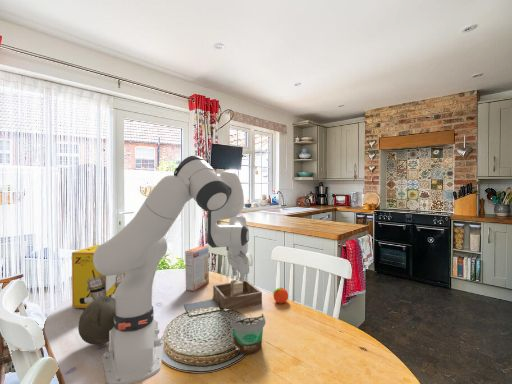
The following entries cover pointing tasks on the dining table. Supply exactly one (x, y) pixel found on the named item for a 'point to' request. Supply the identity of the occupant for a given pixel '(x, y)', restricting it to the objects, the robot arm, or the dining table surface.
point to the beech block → (236, 288)
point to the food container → (248, 334)
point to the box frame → (237, 301)
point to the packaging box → (90, 279)
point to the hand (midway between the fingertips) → (238, 278)
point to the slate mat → (201, 305)
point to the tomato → (280, 295)
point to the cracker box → (197, 268)
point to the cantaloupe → (97, 320)
